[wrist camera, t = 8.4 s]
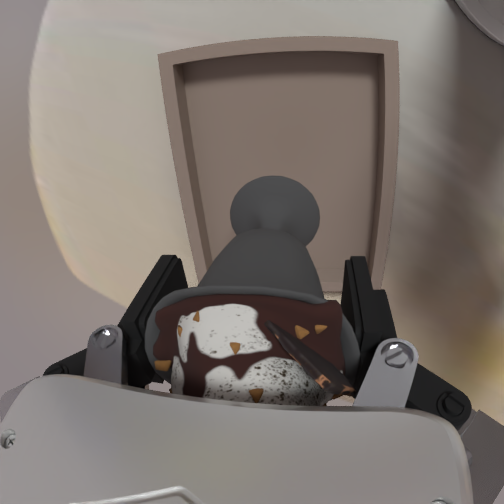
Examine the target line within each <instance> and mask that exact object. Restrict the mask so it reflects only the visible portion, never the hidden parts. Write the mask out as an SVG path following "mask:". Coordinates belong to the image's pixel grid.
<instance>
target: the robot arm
mask: <svg viewBox="0 0 504 504" xmlns="http://www.w3.org/2000/svg"><path fill="white" fill-rule="evenodd" d="M455 1H456V3H457V4H458V6H459V7H460V8H461V9H462V11H463V12H464V13H465V14H466V16H467V17H468V18H469V19H470V20H471V21H472V22H473V23H474V24H475V25H476V26H477V27H478V28H479V29H480V30H481V31H482V32H484V33H485V34H486V35H487V36H489V37H490V38H491V39H493V40H494V41H496V42H498V43H499V44H501V45H503V46H504V0H455ZM186 288H188V285H187V281H186V277H185V273H184V269H183V265H182V261H181V259H180V258H177V256H176V255H162V256H161V257H160V259H159V260H158V262H157V263H156V265H155V266H154V268H153V269H152V271H151V272H150V274H149V276H148V277H147V279H146V280H145V282H144V283H143V285H142V287H141V288H140V290H139V291H138V293H137V294H136V296H135V298H134V299H133V301H132V302H131V304H130V306H129V307H128V309H127V311H126V313H125V314H124V316H123V317H122V319H121V321H120V322H119V324H118V326H115V325H105V326H102V327H100V328H98V329H96V330H95V331H94V332H93V333H92V334H91V336H90V337H89V340H88V346H87V348H86V349H84V350H82V351H80V352H78V353H76V354H74V355H72V356H69V357H67V358H65V359H63V360H61V361H59V362H56V363H54V364H53V365H51V366H49V368H47V369H46V371H45V372H44V374H43V376H42V377H40V376H39V377H37V378H34V379H32V380H30V381H28V382H26V383H24V384H22V385H20V386H18V387H16V388H14V389H11V390H9V391H7V392H6V393H5V394H4V395H3V396H2V397H1V400H0V416H1V425H0V504H493V502H494V500H495V499H496V497H497V496H498V494H499V492H500V491H501V489H502V487H503V486H504V426H503V425H501V424H500V423H498V422H497V421H495V420H494V419H492V418H491V417H489V416H488V415H486V414H485V413H483V412H482V411H480V410H478V412H476V411H474V410H473V409H472V407H471V403H470V400H469V399H468V397H467V396H466V395H465V394H464V393H463V392H461V391H460V390H458V389H457V388H455V387H454V386H452V385H451V384H449V383H448V382H446V381H444V380H443V379H441V378H440V377H438V376H437V375H435V374H434V373H432V372H431V371H429V370H427V369H426V368H424V367H423V366H421V365H420V364H418V352H417V349H416V348H415V347H414V345H412V344H411V343H410V342H408V341H406V340H404V339H399V338H397V335H396V331H395V327H394V322H393V318H392V314H391V310H390V306H389V302H388V299H387V295H386V292H385V290H373V286H372V282H371V278H370V274H369V270H368V266H367V262H366V258H365V256H351V257H350V260H345V266H344V277H343V288H342V297H341V308H342V313H343V315H344V316H345V317H346V319H347V320H348V322H349V323H350V324H351V326H352V328H353V331H354V333H355V336H356V339H357V342H358V346H359V350H360V361H359V365H358V370H357V374H356V377H355V381H354V384H353V387H354V389H355V391H356V394H355V395H354V396H353V398H355V401H354V403H353V405H352V406H296V405H275V404H260V403H247V402H235V401H225V400H216V399H208V398H200V397H192V396H185V395H179V394H172V393H165V392H160V391H153V390H149V384H150V383H151V382H157V383H163V381H164V379H163V378H162V377H161V376H160V375H158V374H157V373H156V372H155V370H154V368H153V367H152V365H151V364H150V362H149V360H148V357H147V354H146V351H145V331H146V326H147V321H148V318H149V316H150V314H151V312H152V310H153V308H154V307H155V306H156V304H157V303H158V302H159V301H160V300H161V299H162V298H163V297H164V296H166V295H168V294H169V293H171V292H173V291H175V290H181V289H186Z"/></svg>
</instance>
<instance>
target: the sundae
mask: <svg viewBox="0 0 504 504" xmlns="http://www.w3.org/2000/svg"><path fill="white" fill-rule="evenodd" d="M230 220H231V225H232V228H233V230H234V232H235V234H236V235H237V236H235V237H234V238H233V239H232V240H231V241H230V242H229V243H228V244H227V245H226V247H225V248H224V249H223V250H222V251H221V252H220V253H219V255H218V256H217V257H216V258H215V259H214V261H213V263H212V264H211V266H210V267H209V269H208V270H207V272H206V273H205V275H204V277H203V278H202V280H201V281H200V283H199V284H198V286H197V287H191V288H186V289H181V290H175V291H173V292H171V293H169V294H168V295H166V296H164V297H163V298H162V299H161V300H160V301H159V302H158V303H157V304H156V306H155V307H154V308H153V310H152V312H151V314H150V316H149V318H148V321H147V326H146V331H145V351H146V354H147V357H148V360H149V362H150V364H151V365H152V367H153V368H154V370H155V372H156V373H157V374H158V375H160V376H161V377H162V378H163V379H164V380H166V381H167V382H168V383H170V384H171V389H169V391H170V393H172V394H179V395H185V396H192V397H200V398H208V399H216V400H225V401H235V402H247V403H260V404H275V405H296V406H327V405H326V403H327V402H328V401H330V400H332V399H336V398H338V397H341V396H342V395H347V396H352V397H353V396H354V395H355V394H356V391H355V389H354V387H353V384H354V381H355V377H356V374H357V370H358V365H359V361H360V350H359V346H358V342H357V339H356V336H355V333H354V331H353V328H352V326H351V324H350V323H349V322H348V320H347V319H346V317H345V316H344V315H343V313H342V308H341V305H340V304H339V303H338V302H337V300H326V299H324V295H323V291H322V287H321V283H320V280H319V276H318V273H317V271H316V268H315V266H314V264H313V261H312V259H311V257H310V255H309V252H308V250H307V248H306V246H307V245H308V244H309V243H310V242H311V241H312V240H313V238H314V236H315V235H316V233H317V230H318V228H319V223H320V210H319V207H318V204H317V202H316V200H315V198H314V196H313V194H312V193H311V192H310V191H309V190H308V189H307V188H306V187H304V186H303V185H302V184H301V183H299V182H297V181H295V180H293V179H290V178H287V177H284V176H262V177H259V178H257V179H254V180H252V181H250V182H248V183H246V184H245V185H244V186H243V187H242V188H241V189H240V190H239V191H238V192H237V194H236V195H235V196H234V199H233V201H232V204H231V208H230Z"/></svg>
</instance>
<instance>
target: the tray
mask: <svg viewBox="0 0 504 504" xmlns="http://www.w3.org/2000/svg"><path fill="white" fill-rule="evenodd" d="M158 61H159V68H160V76H161V83H162V90H163V97H164V104H165V111H166V117H167V123H168V130H169V136H170V142H171V148H172V154H173V159H174V165H175V171H176V176H177V181H178V187H179V192H180V197H181V202H182V207H183V213H184V217H185V222H186V227H187V232H188V237H189V242H190V246H191V251H192V255H193V260H194V265H195V269H196V273H197V278H198V282H199V283H200V281H201V280H202V278H203V277H204V275H205V273H206V272H207V270H208V269H209V267H210V266H211V264H212V263H213V261H214V259H215V258H216V257H217V256H218V255H219V253H220V252H221V251H222V250H223V249H224V248H225V247H226V245H227V244H228V243H229V242H230V241H231V240H232V239H233V238H234V237H235V236H237V235H236V234H235V232H234V230H233V228H232V225H231V220H230V208H231V204H232V201H233V199H234V196H235V195H236V194H237V192H238V191H239V190H240V189H241V188H242V187H243V186H244V185H245V184H246V183H248V182H250V181H252V180H254V179H257V178H259V177H262V176H284V177H287V178H290V179H293V180H295V181H297V182H299V183H301V184H302V185H303V186H304V187H306V188H307V189H308V190H309V191H310V192H311V193H312V194H313V196H314V198H315V200H316V202H317V204H318V207H319V210H320V223H319V228H318V230H317V233H316V235H315V236H314V238H313V240H312V241H311V242H310V243H309V244H308V245H307V246H306V248H307V250H308V252H309V255H310V257H311V259H312V261H313V264H314V266H315V268H316V271H317V273H318V276H319V280H320V283H321V287H322V291H342V288H343V277H344V266H345V260H350V257H351V256H365V258H366V262H367V266H368V270H369V274H370V278H371V282H372V286H373V290H381V285H382V280H383V274H384V268H385V262H386V256H387V250H388V243H389V236H390V228H391V221H392V212H393V203H394V194H395V183H396V171H397V156H398V137H399V54H398V41H393V40H383V39H372V38H357V37H332V36H303V37H277V38H262V39H251V40H241V41H232V42H224V43H217V44H210V45H204V46H197V47H192V48H186V49H181V50H176V51H171V52H166V53H162V54H158Z"/></svg>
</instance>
